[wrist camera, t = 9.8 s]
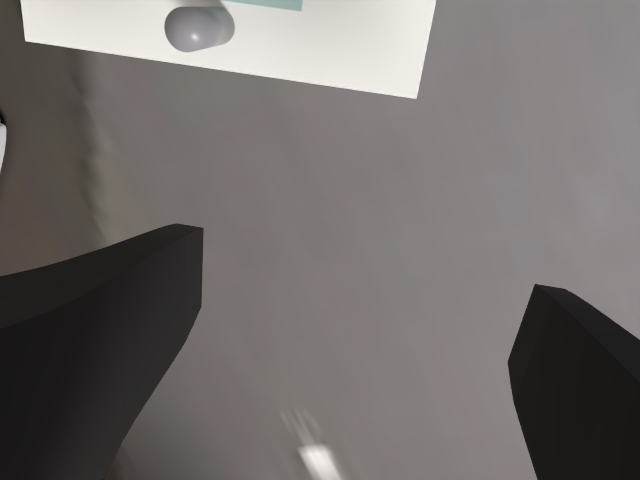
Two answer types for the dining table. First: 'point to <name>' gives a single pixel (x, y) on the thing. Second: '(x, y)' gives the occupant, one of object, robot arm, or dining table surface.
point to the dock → (253, 36)
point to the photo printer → (2, 142)
